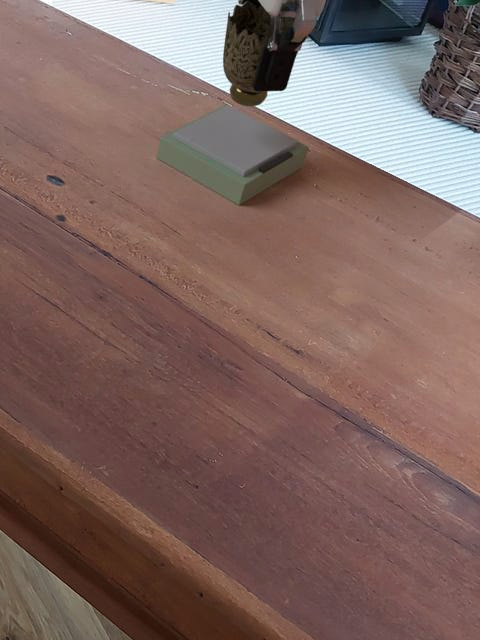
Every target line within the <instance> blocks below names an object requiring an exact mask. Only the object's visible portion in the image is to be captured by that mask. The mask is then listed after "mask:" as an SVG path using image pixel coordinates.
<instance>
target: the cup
mask: <svg viewBox="0 0 480 640" xmlns="http://www.w3.org/2000/svg"><path fill="white" fill-rule="evenodd" d="M240 6H241V7H240ZM255 7H256V6H255V5H254V4H252V3H251V2H250V1H246V2H245V3H244V4H243V5H240V4H235V6H234V7H233V12H232V15H231V12H230V11H228V14H227V22H226V29H225V36H224V45H223V53H222V54H223V55H222V66H223V73H224V76H225V77H226V80H227V81H228V83H230V85H231V86H229V94H230V98H231V100H232V101H233V102H234V103H236V104H238V105H241V106H243V107H256V106H260V105H262V104H263V103H264V102H265V100H266V99H267V98H268V91H255V90H254V89H253V87H252V84H253V81H254V77H255V73H256V70H257V66H258V63H259V59H260V55H261V52H262V48H263V46H268V38H269V26H270V14H269V13H268V12H267V11H266V10H265V9H264V7H263V6H262V5H260V6H259V8H257V7H256V8H255ZM280 10H281V11H291V9H290V8H289V7H288V6H284V7H283V6H282V7H281V9H280ZM293 20H294V19H285V20H281V24H280V33H281V32H282V31H283V30H284V29H286V28H287V27H291V26H292V25H293V24H292V23H293ZM298 54H299V51H298V52H297V55H296V57H297V56H298Z"/></svg>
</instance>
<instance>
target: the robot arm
mask: <svg viewBox="0 0 480 640" xmlns="http://www.w3.org/2000/svg"><path fill="white" fill-rule="evenodd" d="M246 1H250V2H251V3H252V4H254V5H255V6H256V7H257V8H259V6H260V5H262V6H263V7H264V9H265V10H266V11H267V12H268V13H269V14H270V26H269V38H268V46H263V48H262V52H261V55H260V59H259V63H258V66H257V70H256V73H255V77H254V81H253V84H252V87H253V89H254V90H255V91H267V92H283V91H285V90H286V89H287V87H288V84H289V80H290V78H291V75H292V71H293V68H294V65H295V60H296V58H297V56H298V53H299V51H301V50H302V47H303V44H304V43H305V42H306V40H307V39H308V36H309V35H310V33H311V32H313V30H314V29H315V28H316V25H317V17H319V16H320V15H321V14H322V13H323V10H324V8H325V5H326V2H327V0H237V2H238V5H239V6H240V7H241V6H242V5H243V4H244V3H245V2H246ZM283 5H295V10H290V11H281V10H280V9H281V8H282V7H283ZM256 7H255V8H256ZM285 19H294V20H293V23H292V24H293V25H292V26H291V27H287V28H286V29H284V30H283V31H282V32H281V33H280V24H281V20H285ZM297 52H298V53H297ZM296 55H297V56H296Z"/></svg>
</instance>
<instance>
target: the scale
mask: <svg viewBox="0 0 480 640" xmlns="http://www.w3.org/2000/svg"><path fill="white" fill-rule="evenodd" d="M309 150H310V146H308V145H306V144H304V143H302V142H300V141H299V140H298V139H296V138H294V137H292V136H290V135H288V134H286V133H284V132H283V131H280V130H278V129H277V128H274V127H273V126H271V125H269V124H266V123H265V122H263V121H262V120H259V119H257V118H255V117H253V116H252V115H249V114H247V113H245V112H244V111H241V110H240V109H237V108H236V107H234V106H232V105H230V104H224V105H222V106H219V107H218V108H217V107H216V109H214V110H212V111H209V112H208V113H206V114H204V115H202V116H200V117H197V118H196V119H193V120H192V121H190V122H188V123H186V124H184V125H182V126H180V127H178V128H176V129H174V130H172V131H170V132H168V133H166V134H164V135H162V136H160V139H159V142H158V148H157V153H156V159H157V160H159V161H161V162H162V163H164V164H166V165H167V166H170V167H171V168H173V169H175V170H176V171H179V172H180V173H182V174H183V175H185V176H187V177H189V178H190V179H192V180H194V181H195V182H197V183H199V184H201V185H203V186H204V187H206V188H208V189H209V190H212V191H213V192H215V193H216V194H218V195H220V196H222V197H224V198H225V199H227V200H229V201H230V202H232V203H234V204H236V205H237V206H241V204H244V203H245V202H247V201H249V200H251V199H252V198H253V197H256V196H257V195H259V194H260V193H262V192H264V191H266V190H267V189H269V188H270V187H272V186H274V185H276V184H277V183H279V182H280V181H282V180H284V179H285V178H288V177H289V176H291V175H292V174H294V173H295V172H298V171H299V170H300V169H302V168H303V166H304V163H305V160H306V158H307V155H308V152H309Z"/></svg>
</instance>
